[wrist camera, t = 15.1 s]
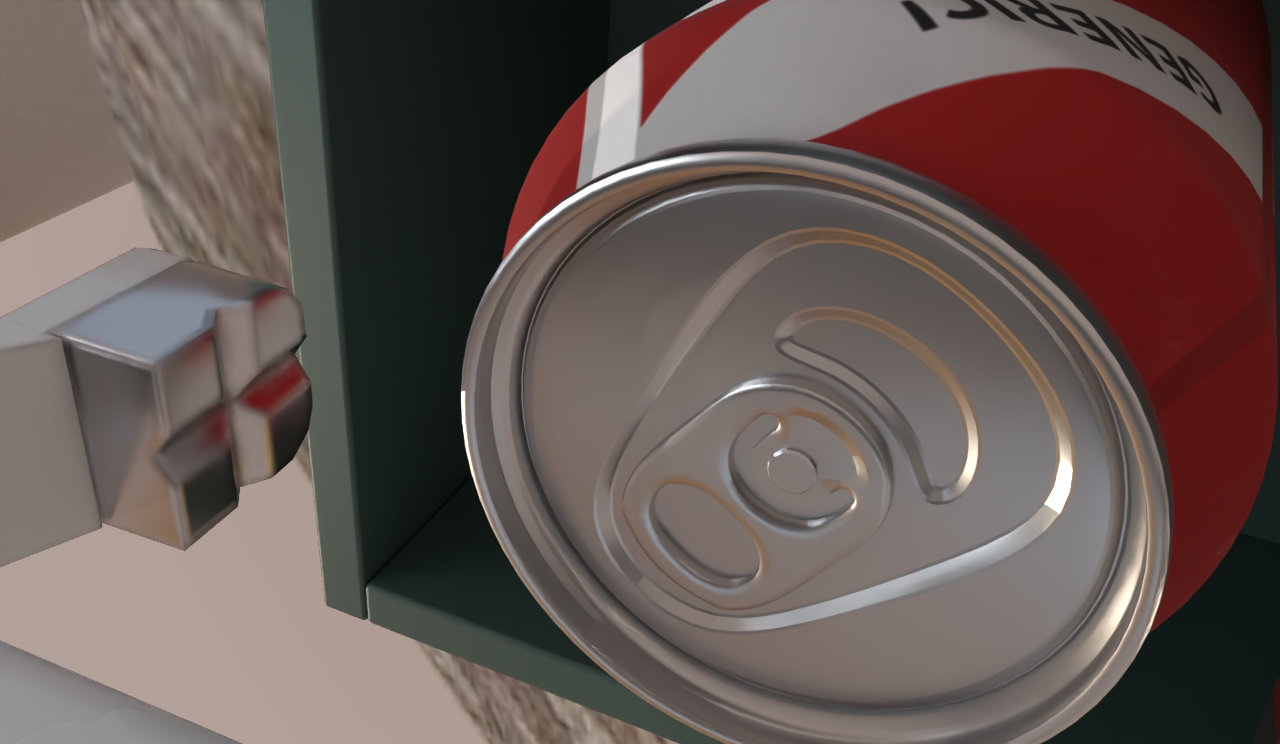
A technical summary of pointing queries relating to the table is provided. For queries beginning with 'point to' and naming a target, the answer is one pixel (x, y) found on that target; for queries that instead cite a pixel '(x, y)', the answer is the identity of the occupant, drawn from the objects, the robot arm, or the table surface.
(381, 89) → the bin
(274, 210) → the table surface
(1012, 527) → the soda can
